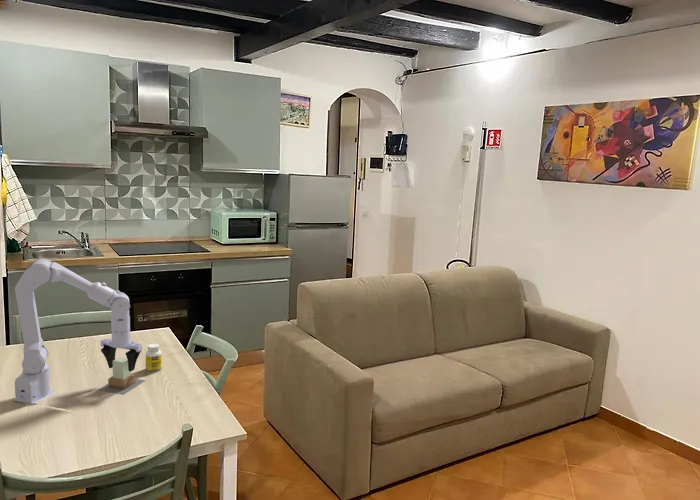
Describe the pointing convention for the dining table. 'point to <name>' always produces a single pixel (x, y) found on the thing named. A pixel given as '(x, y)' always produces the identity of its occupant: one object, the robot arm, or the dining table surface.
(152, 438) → the dining table surface
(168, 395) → the dining table surface
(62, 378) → the dining table surface
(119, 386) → the walnut block
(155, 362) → the supplement bottle
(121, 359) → the sage pillar
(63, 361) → the dining table surface
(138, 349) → the robot arm
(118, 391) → the mat
